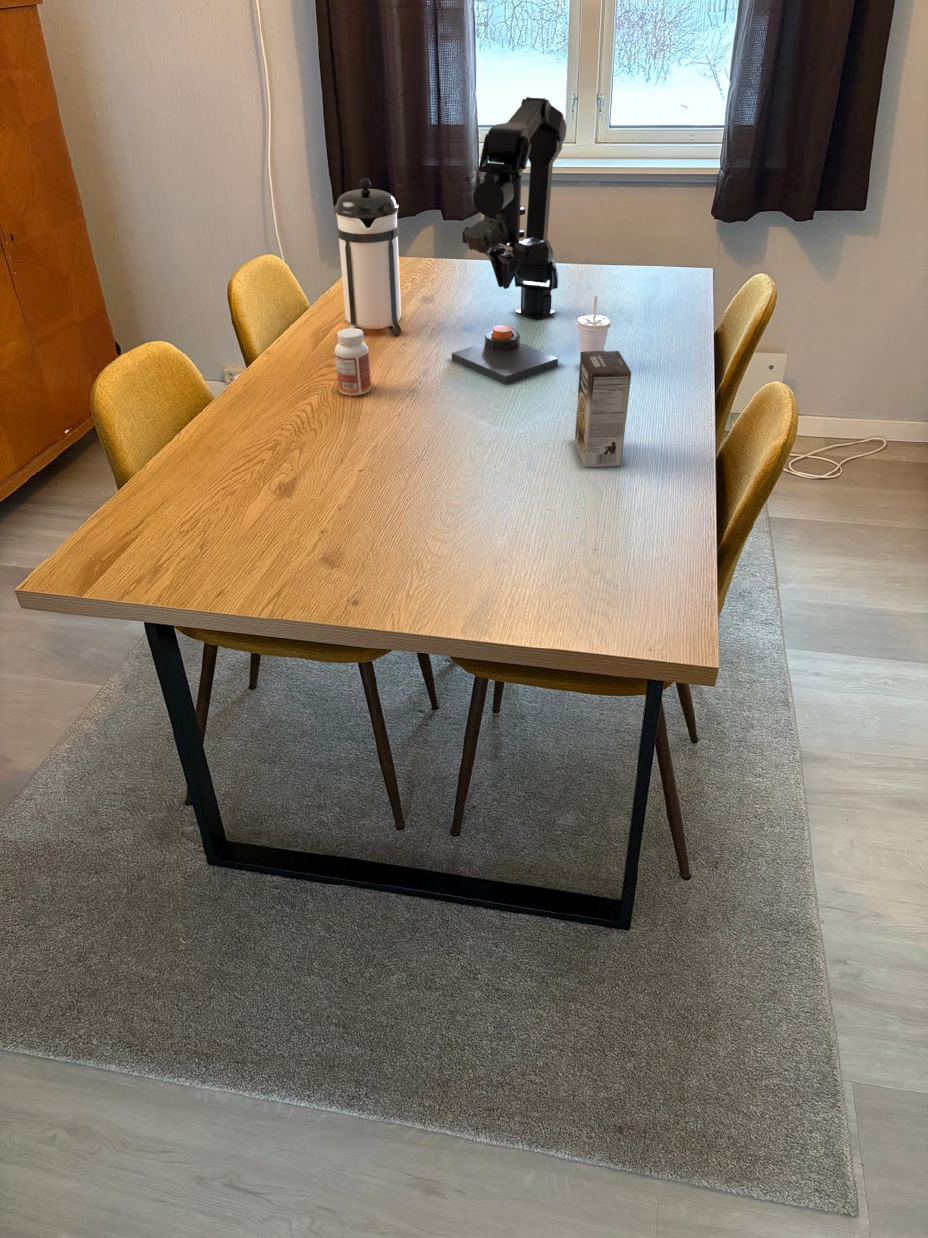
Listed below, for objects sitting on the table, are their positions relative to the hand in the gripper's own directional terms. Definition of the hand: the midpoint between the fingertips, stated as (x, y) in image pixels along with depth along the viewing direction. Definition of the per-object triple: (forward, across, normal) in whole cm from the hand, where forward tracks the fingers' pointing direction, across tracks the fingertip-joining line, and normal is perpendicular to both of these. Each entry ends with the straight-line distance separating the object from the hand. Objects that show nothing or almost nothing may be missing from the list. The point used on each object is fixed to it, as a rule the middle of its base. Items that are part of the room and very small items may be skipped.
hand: (503, 287), depth 184 cm
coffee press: (+13, -30, -11) cm, 35 cm away
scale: (+13, +5, -4) cm, 14 cm away
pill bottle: (+13, -4, -34) cm, 37 cm away
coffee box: (+13, +44, -19) cm, 50 cm away
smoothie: (+13, +18, +7) cm, 23 cm away
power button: (+10, 0, 0) cm, 10 cm away
